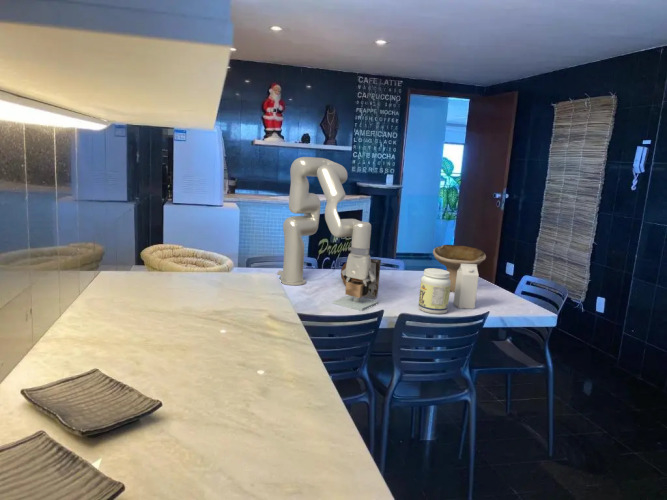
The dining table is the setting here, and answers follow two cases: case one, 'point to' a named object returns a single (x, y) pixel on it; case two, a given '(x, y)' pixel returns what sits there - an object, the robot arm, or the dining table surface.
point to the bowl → (457, 259)
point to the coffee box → (375, 284)
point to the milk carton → (466, 286)
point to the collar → (355, 288)
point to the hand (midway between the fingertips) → (356, 292)
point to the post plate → (355, 302)
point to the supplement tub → (434, 291)
